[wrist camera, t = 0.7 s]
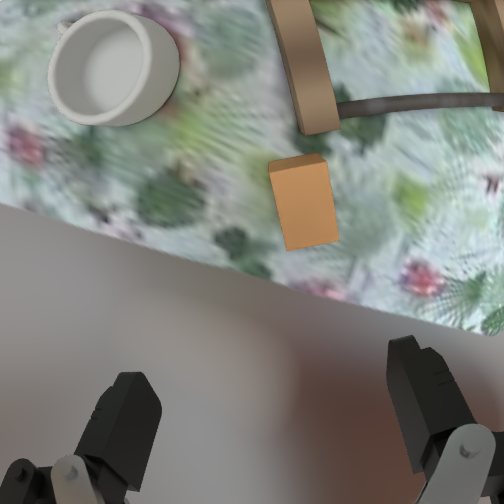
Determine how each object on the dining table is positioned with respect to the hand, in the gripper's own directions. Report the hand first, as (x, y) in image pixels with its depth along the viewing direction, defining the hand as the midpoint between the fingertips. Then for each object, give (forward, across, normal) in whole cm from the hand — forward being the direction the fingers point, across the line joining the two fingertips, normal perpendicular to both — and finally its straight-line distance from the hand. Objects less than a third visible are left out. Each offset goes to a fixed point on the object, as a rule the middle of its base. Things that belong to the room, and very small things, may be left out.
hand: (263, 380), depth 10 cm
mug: (+19, +9, -15) cm, 26 cm away
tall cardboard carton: (+19, -3, 0) cm, 20 cm away
